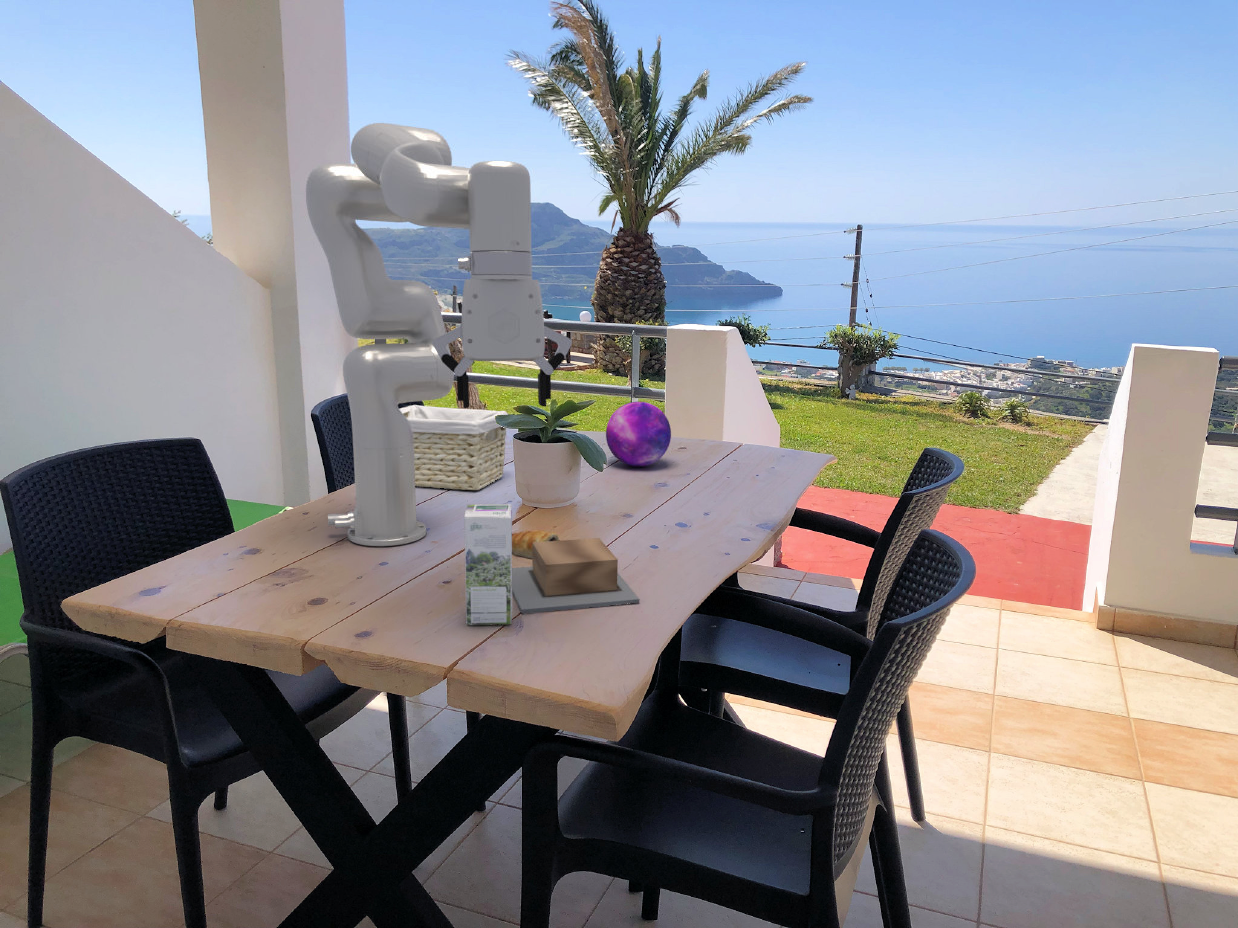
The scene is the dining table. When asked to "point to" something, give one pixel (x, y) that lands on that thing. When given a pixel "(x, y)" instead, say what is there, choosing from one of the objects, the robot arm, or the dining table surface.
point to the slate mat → (533, 601)
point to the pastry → (530, 541)
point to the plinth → (573, 567)
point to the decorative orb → (638, 434)
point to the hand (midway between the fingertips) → (504, 406)
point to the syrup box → (488, 564)
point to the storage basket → (456, 446)
